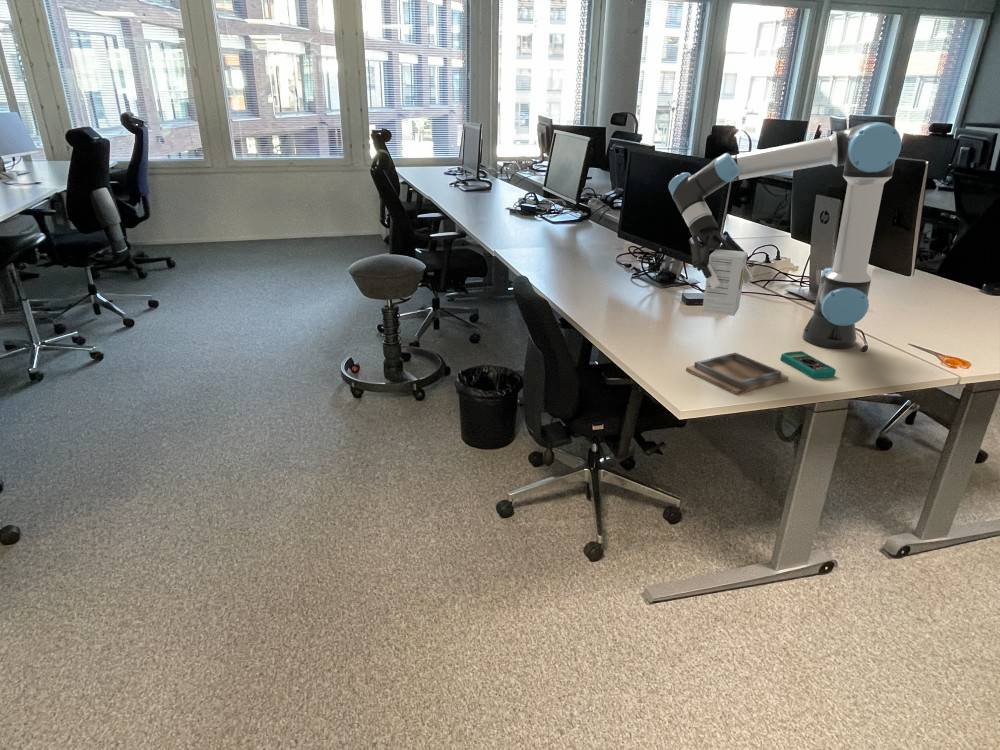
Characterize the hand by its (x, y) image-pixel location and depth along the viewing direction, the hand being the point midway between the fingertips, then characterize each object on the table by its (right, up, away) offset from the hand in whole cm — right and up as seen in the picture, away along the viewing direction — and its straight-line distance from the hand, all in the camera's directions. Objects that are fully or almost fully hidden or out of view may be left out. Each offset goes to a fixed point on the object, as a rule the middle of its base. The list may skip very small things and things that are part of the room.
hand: (733, 283), depth 180 cm
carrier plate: (-1, -26, -5) cm, 26 cm away
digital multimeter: (+21, -24, +1) cm, 32 cm away
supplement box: (-2, -7, +6) cm, 9 cm away
